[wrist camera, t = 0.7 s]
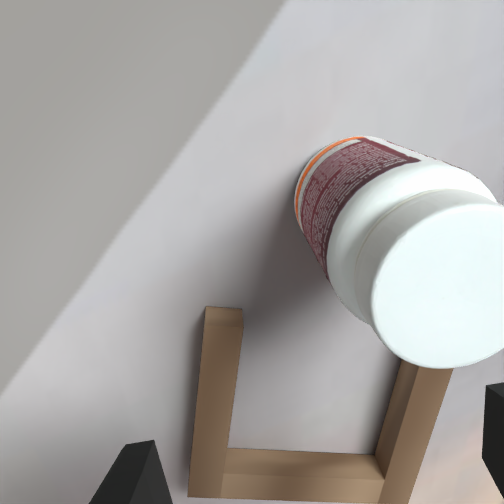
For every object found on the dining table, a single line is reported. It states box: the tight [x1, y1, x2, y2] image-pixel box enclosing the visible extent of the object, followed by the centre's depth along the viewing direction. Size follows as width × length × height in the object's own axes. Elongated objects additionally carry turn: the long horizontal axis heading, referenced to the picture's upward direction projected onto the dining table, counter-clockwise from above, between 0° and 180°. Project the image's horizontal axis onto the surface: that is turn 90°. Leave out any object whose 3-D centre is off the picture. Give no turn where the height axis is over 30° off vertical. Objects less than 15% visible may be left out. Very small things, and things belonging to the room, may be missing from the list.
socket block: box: [187, 306, 453, 504], centre depth 20 cm, size 10×9×2 cm
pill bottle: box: [294, 136, 504, 369], centre depth 14 cm, size 5×5×8 cm
